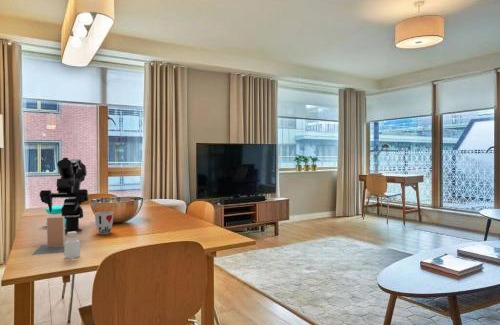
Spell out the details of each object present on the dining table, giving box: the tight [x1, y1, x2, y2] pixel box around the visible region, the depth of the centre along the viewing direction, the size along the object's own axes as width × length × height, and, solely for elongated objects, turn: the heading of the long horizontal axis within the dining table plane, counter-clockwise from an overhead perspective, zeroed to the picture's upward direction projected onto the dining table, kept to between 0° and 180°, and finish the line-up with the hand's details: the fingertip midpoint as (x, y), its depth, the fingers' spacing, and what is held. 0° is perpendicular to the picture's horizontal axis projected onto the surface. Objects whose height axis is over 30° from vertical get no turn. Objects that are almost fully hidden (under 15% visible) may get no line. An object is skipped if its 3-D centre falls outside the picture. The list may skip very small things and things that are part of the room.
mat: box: [31, 244, 65, 256], centre depth 140 cm, size 14×12×1 cm
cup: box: [94, 211, 114, 235], centre depth 168 cm, size 8×8×10 cm
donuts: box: [45, 205, 66, 226], centre depth 186 cm, size 10×10×10 cm
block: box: [46, 215, 66, 247], centre depth 144 cm, size 2×6×12 cm, turn 106°
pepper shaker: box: [64, 231, 81, 260], centre depth 129 cm, size 4×4×10 cm
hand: (62, 211), depth 151 cm, fingers open, 9 cm apart
